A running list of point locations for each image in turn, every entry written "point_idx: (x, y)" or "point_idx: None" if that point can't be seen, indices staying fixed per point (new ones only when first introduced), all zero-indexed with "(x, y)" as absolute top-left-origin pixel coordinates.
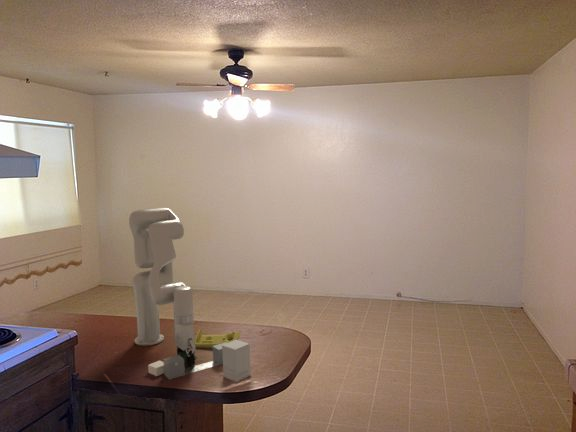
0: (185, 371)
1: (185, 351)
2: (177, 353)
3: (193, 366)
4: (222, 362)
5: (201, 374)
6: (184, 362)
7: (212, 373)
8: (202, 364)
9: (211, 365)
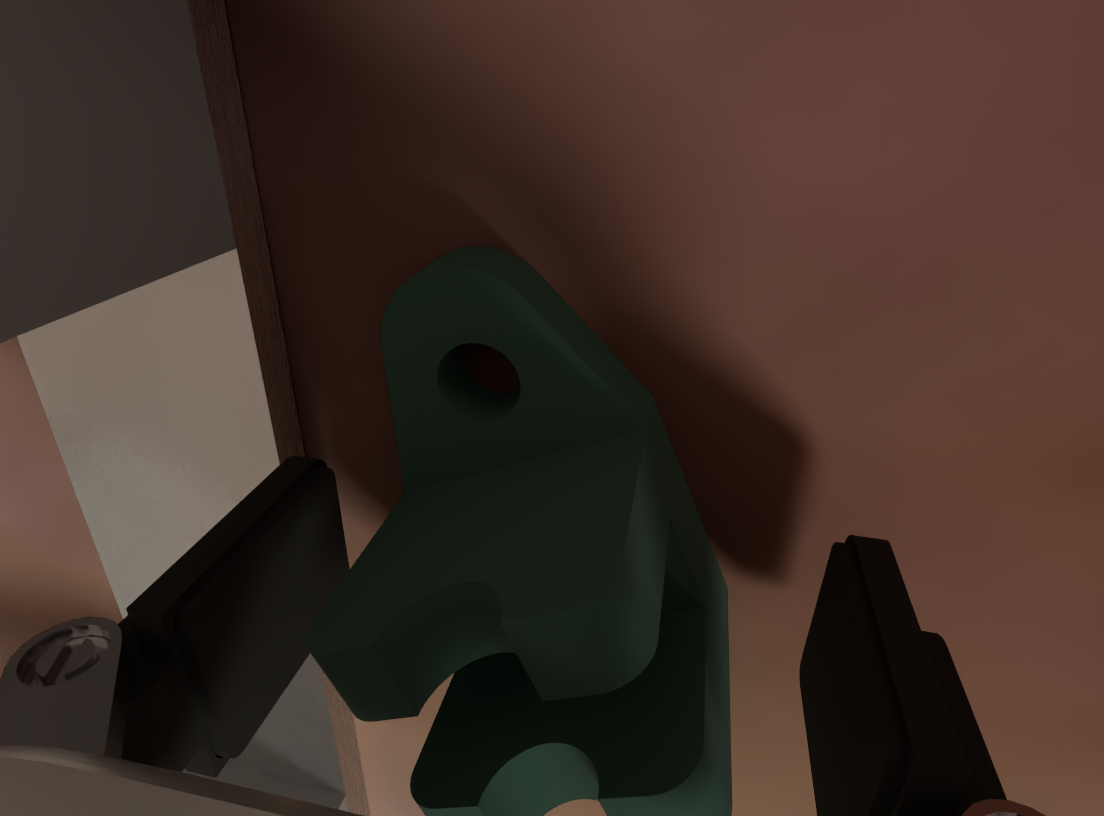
0: (123, 313)
1: (601, 780)
2: (895, 631)
3: None
4: None
5: (39, 469)
6: (450, 496)
7: (28, 579)
8: None
9: None
